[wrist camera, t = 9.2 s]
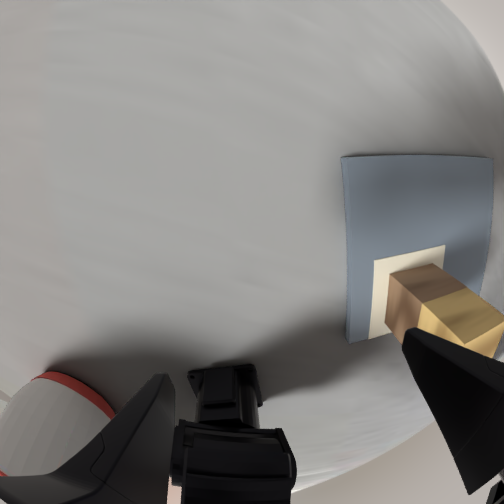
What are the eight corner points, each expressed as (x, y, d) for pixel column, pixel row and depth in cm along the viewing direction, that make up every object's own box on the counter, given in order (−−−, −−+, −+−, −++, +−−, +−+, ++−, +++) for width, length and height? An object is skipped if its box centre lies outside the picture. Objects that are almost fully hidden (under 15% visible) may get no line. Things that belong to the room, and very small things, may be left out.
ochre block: (453, 337, 17) (485, 371, 13) (410, 356, 17) (440, 398, 13) (467, 287, 16) (508, 318, 11) (422, 303, 16) (464, 344, 11)
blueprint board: (473, 294, 24) (478, 298, 23) (345, 337, 24) (349, 344, 23) (486, 157, 18) (493, 158, 17) (340, 157, 18) (346, 157, 17)
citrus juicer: (140, 449, 30) (122, 558, 11) (39, 405, 26) (-2, 498, 7) (151, 396, 25) (120, 562, 6) (22, 336, 22) (-57, 453, 3)
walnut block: (425, 309, 22) (453, 337, 17) (384, 322, 22) (410, 356, 17) (432, 263, 20) (467, 287, 16) (389, 273, 20) (422, 303, 16)
